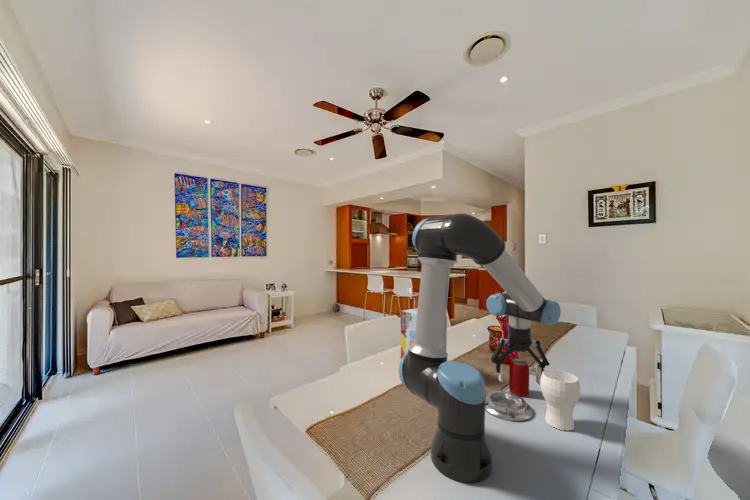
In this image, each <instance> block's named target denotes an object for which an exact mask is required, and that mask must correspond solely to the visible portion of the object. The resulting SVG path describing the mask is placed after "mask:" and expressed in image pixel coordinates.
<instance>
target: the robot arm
mask: <svg viewBox="0 0 750 500" xmlns="http://www.w3.org/2000/svg"><path fill="white" fill-rule="evenodd" d="M411 239H412V245H413V246H414V249H415V251H416V252H417V259H418V261H419V263H421V270H420V271H421V273H420V283H419V292H418V301H417V309H416V310H417V320H416V329H415V339H414V343H413V344H412V345H411V346H409V348H408V352H407V353H405V354H404V357H403V358H402V359H401V358H400V361H399V365H398V376H399V380H400V382H401V383H402V385H403V386H404V387H405V388H406V389H407V390H409V392H410V393H411V394H413V395H415V396H417V397H419V398H420V399H422V400H423V401H425V402H426V403H427V404H429V405H431V406H432V407H433V408H435V409H436V410H437V428H436V430H435V432H434V435H433V439H432V441H431V445H430V459H431V462H432V464H433V465H434V467H435V468H436V469H437V470H438V471H439V472H440V473H441V474H443V475H445V476H446V477H447V478H450V479H452V480H455V481H458V482H461V483H462V482H463V483H477V482H481V480H482V481H484V480H485V478H486V479H487V478H488V477H489V476H490V475H491V473H492V470H493V457H492V452H491V450H490V447H489V443H488V440H487V437H486V432H485V431H486V427H485V424H486V423H485V422H486V411H485V398H486V396H487V392H486V386H485V385H486V384H485V379H484V377H483V374H482V373H481V371H479V370H478V369H477V368H476V367H474V366H472V365H470V364H468V363H465V362H459V361H455V360H454V361H453V360H448V352H447V350H446V351H445V349H444V348H443V341H444V331H445V320H446V317H447V310H448V300H449V299H448V298H449V297H448V296H449V288H450V287H449V286H450V275H451V268H452V267H453V266H454V265H455V264H456V263H457V257H458V256H463V257H467V258H468V259H469V258H470V259H471V260H472V261H473V262H474V264H476V265H478V266H483V268H484V269H485V270H486V271H487V272H488V273H489V275H490V276H491V277H492V278H493V279H494V280H495V282H496V283H498V285H499V286H500V287H501V288H502V289H503V290H504V292H502V293H494V294H491V295H489V296H488V298H487V299H486V309H487V311H488V312H489V314H491V315H492V316H496V317H498V316H499V317H502V316H508V325H509V326H508V338H504V337H500V338H499V343H498V344H497V346H496V349H495V350H494V352H493V354H492V355H491V358H490V360H491V362H492V363H493V364H495V372H496V373H497V374H498V381H499V382H500V383H504V381H503V380H504V377H503V376H504V375H503V373H504V371H503V370H504V369H503V368H504V366H503V364H502V363H503V362H505V360H506V359H507V358H508V357H509V356H510V355H511V354H512V353H514V352H522V353H525V352H526V351H527V353H528V354H529V355H530V356H531V357H532V358H533V359H534V361H536V363H537V364H536V366H535V368H536V376H535V382H536V383H537V384H538V385H539V386H540V379H541V375H542V372H543V371H544V370H545V368H546V367H549V366H550V365H551V364H550V362H549V360H548V359H547V357H546V354H545V353H544V351H543V348H542V347H541V346H542V345H541V342H540V340H538V339H537V338H534V339H532V338H531V337H532V331H531V325H532V323H531V322H534V323H535V322H536V323H540V324H546V325H550V326H551V325H555V324H557V323H558V322H559V319H560V318H561V306H560V304H559V303H558V302H557V301H556V300H555V301H554V300H552V299H545V297H544V296H543V295H542V294H541V292H540V291H539V290H538V288H537V287H536V286H535V284H533V283H532V281H531V280H530V279H529V277H528V276H527V275H526V273H524V271H523V270H522V269H521V267H520V266H519V264H517V262H516V261H515V260H514V259H513V257H512V256H511V255H510V254H509V253H508V251H507V249H506V243H505V241H504V239H502V237H501V236H500V235H499V234H498V233H497V231H496V230H494V229H493V228H492V227H491V226H490V225H488V224H487V223H486V222H485V221H483V220H482V219H480V218H477V217H476V216H473V215H471V214H466V213H456V214H448V215H437V216H430V217H428V218H424V219H422V220H421V221H419V222H418V223H417V224H416V225H415V228H414V229H413V232H412V238H411ZM506 344H508V346H507V347H506V349H505V350H504V351H503V349H504V348H505V345H506ZM532 345H533V346H534V348H535V349H536V350H537V353H538V354H539V356H540V358H541V360H542V361H541V360H540V358H539V357H538V356H537V355H536V354H535V353H534V352H533V350H532V349H531V348H530V347H531V346H532ZM502 351H503V352H502Z"/></svg>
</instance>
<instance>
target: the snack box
mask: <svg viewBox="0 0 750 500" xmlns="http://www.w3.org/2000/svg"><path fill="white" fill-rule="evenodd" d="M417 310H418V309H414V308H410V309H405V310H404V309H403V310H400V360H401V359H402V358H403V357H404V354H405V353H407V352H408V348H409V346H411V345H412V344H413V343H414V339H415V329H416V320H417ZM447 323H448V316H446V320H445V331H444V341H443V348H444V349H445V351H446V352H447V345H448V344H447V339H448V338H447V333H448V332H447V331H448V329H447V328H448V327H447V326H448V324H447Z"/></svg>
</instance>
